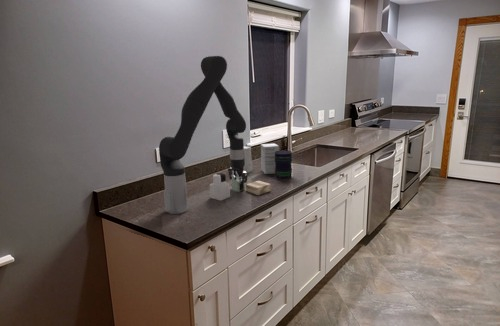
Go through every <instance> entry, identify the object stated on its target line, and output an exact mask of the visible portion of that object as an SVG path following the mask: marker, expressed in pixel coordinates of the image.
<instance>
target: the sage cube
mask: <svg viewBox="0 0 500 326" xmlns="http://www.w3.org/2000/svg"><path fill="white" fill-rule="evenodd" d="M241 181H242V179H241ZM230 182H231V184H230V186H231V190H232V191H233V192H234V191H235V192H242V191H246V183H244V190H240V183H239V180H238V178H237V179H236V180H230Z"/></svg>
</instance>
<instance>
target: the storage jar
mask: <svg viewBox="0 0 500 326" xmlns="http://www.w3.org/2000/svg"><path fill="white" fill-rule="evenodd" d="M292 155H293V154H292V151H291V150H286V149H285V150H284V149H282V150H280V149H279V151H276V152H275V173H274V177H275V179H277V180H283V181H284V180H285V181H286V180H290V179H292V173H293V169H292V162H293V160H292V159H293V156H292Z"/></svg>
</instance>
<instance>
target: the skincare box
mask: <svg viewBox="0 0 500 326" xmlns="http://www.w3.org/2000/svg"><path fill="white" fill-rule="evenodd" d="M244 157H245V166H244V167H243V169H244V171H245V172H248V174H249V173H250V172H253V158H252V157H253V156H252V147H251V146H245V145H244Z"/></svg>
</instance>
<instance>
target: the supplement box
mask: <svg viewBox="0 0 500 326" xmlns="http://www.w3.org/2000/svg"><path fill="white" fill-rule="evenodd" d="M276 151H280V145H278V144H276V143H262V144H260V157H261V158H260V160H261V161H260V162H261V172H262V173H264V175H269V174H271V175H272V174H275V152H276Z"/></svg>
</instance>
